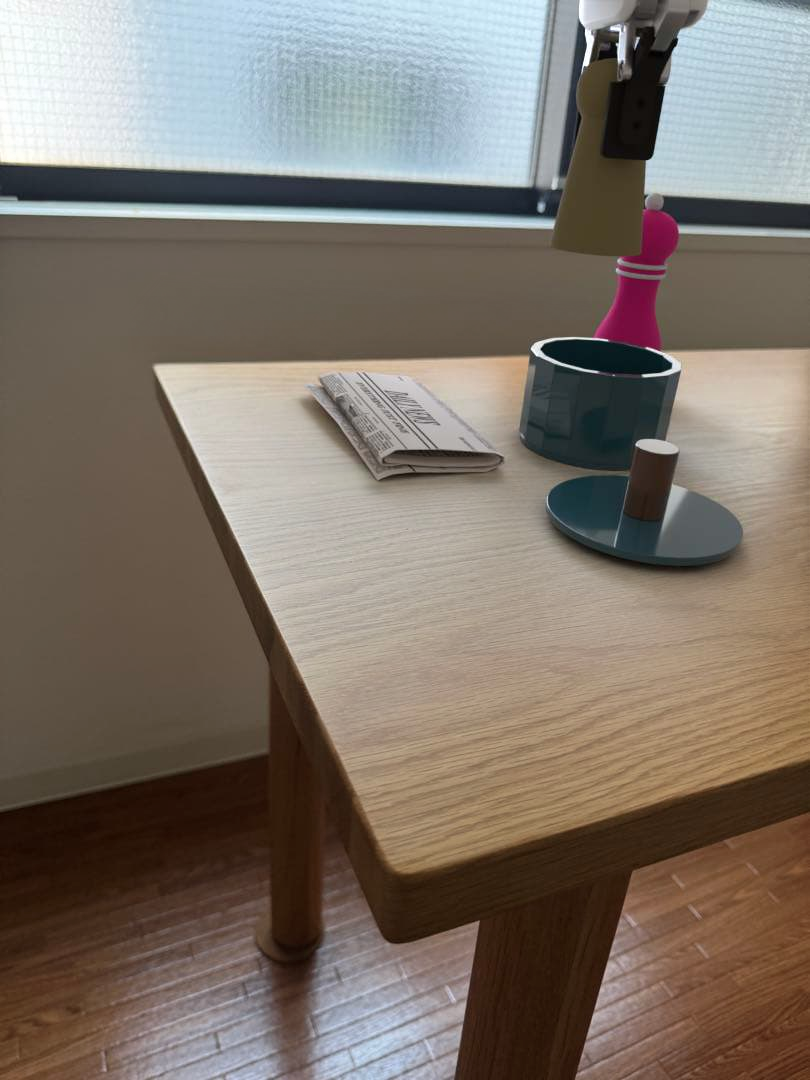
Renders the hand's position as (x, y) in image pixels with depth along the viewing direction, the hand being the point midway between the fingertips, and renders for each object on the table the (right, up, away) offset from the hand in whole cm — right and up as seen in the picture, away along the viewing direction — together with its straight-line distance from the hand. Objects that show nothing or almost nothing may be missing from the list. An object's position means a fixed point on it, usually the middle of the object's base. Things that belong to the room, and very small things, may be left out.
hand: (610, 152), depth 54 cm
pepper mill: (+10, -9, +38) cm, 41 cm away
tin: (+4, -16, +22) cm, 28 cm away
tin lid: (+4, -23, +7) cm, 24 cm away
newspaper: (-14, -15, +22) cm, 30 cm away
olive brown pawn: (0, -5, +3) cm, 6 cm away
